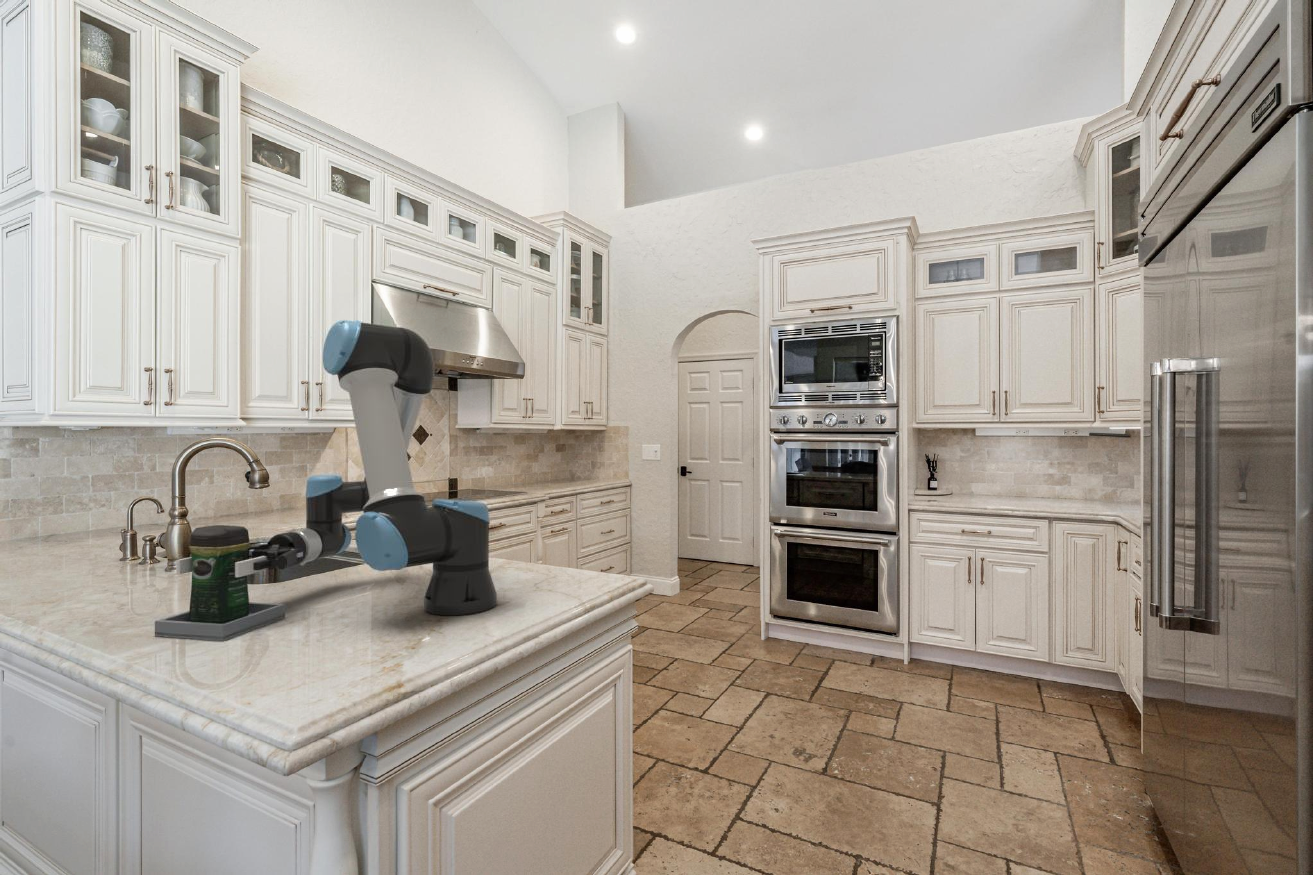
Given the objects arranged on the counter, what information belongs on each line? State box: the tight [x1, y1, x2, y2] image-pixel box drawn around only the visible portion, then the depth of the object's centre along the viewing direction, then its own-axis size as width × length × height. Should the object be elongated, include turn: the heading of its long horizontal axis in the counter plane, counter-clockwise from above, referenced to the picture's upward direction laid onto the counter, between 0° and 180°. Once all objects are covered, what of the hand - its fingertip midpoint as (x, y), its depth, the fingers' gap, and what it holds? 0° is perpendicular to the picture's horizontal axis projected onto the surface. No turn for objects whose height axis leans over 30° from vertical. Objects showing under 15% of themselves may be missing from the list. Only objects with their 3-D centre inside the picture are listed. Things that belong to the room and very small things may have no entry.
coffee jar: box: [188, 524, 250, 624], centre depth 121 cm, size 10×8×19 cm
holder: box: [154, 601, 286, 642], centre depth 120 cm, size 15×15×3 cm
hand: (207, 568), depth 116 cm, fingers open, 12 cm apart
